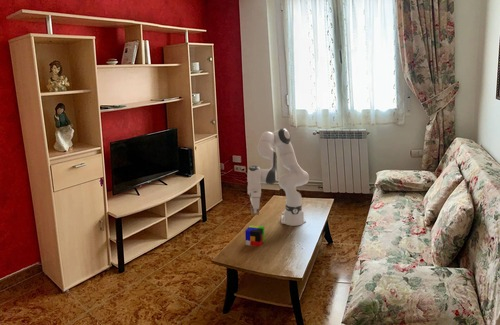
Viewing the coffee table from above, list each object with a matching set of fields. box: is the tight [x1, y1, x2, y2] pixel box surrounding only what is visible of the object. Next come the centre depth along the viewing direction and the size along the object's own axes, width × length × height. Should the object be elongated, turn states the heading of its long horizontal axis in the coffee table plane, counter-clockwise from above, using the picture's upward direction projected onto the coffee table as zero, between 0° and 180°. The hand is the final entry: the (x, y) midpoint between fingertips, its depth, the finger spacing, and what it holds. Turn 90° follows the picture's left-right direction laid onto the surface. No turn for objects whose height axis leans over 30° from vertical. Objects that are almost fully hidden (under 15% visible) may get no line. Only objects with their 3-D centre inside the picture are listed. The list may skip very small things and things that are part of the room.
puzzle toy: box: [244, 224, 265, 247], centre depth 277 cm, size 10×10×10 cm
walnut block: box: [250, 204, 260, 216], centre depth 273 cm, size 5×5×5 cm
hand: (254, 211), depth 273 cm, fingers closed on walnut block, 5 cm apart
